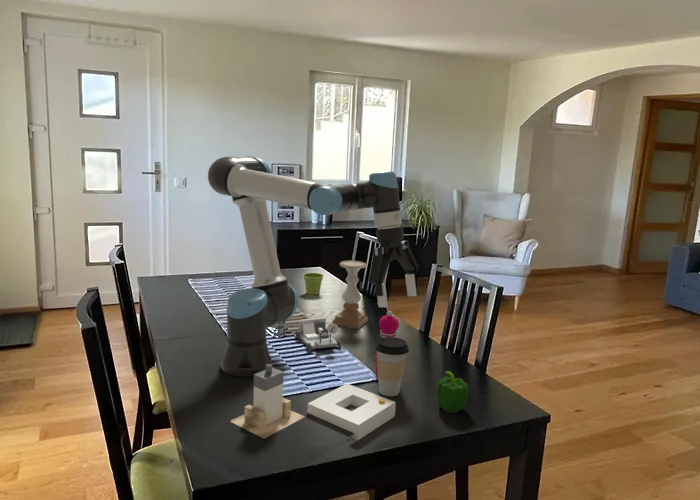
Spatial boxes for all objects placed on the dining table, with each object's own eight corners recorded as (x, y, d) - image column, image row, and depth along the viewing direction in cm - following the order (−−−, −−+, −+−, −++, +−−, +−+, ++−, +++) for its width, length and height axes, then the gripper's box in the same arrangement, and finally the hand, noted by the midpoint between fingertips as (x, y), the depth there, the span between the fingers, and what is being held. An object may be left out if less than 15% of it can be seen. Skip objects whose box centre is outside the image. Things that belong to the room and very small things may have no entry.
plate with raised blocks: (229, 426, 135) (229, 405, 134) (271, 406, 146) (271, 387, 145) (264, 444, 128) (264, 422, 127) (305, 422, 139) (305, 401, 138)
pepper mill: (400, 371, 173) (404, 309, 169) (394, 380, 166) (398, 316, 162) (377, 367, 175) (381, 306, 171) (371, 375, 168) (374, 312, 164)
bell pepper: (472, 414, 147) (475, 379, 145) (444, 417, 145) (447, 381, 143) (457, 400, 155) (460, 366, 153) (430, 403, 152) (433, 368, 151)
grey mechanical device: (345, 324, 185) (312, 327, 180) (344, 352, 187) (311, 356, 182) (326, 309, 201) (295, 311, 197) (325, 334, 203) (295, 338, 198)
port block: (307, 418, 141) (307, 401, 140) (346, 397, 154) (346, 381, 153) (357, 440, 132) (358, 422, 131) (394, 416, 144) (395, 399, 143)
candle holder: (331, 324, 213) (334, 264, 208) (342, 317, 223) (345, 259, 218) (358, 329, 209) (361, 267, 204) (368, 321, 219) (371, 262, 214)
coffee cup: (370, 384, 162) (373, 335, 159) (402, 384, 163) (406, 336, 160) (375, 399, 153) (378, 347, 150) (408, 399, 154) (412, 348, 151)
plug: (253, 420, 136) (253, 366, 133) (270, 411, 140) (272, 359, 138) (264, 426, 133) (265, 371, 130) (282, 417, 138) (283, 364, 135)
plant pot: (322, 296, 250) (323, 278, 249) (301, 295, 250) (302, 277, 249) (323, 291, 260) (324, 273, 258) (303, 290, 260) (304, 272, 258)
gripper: (370, 232, 144) (381, 312, 146) (425, 220, 162) (433, 292, 164) (349, 234, 149) (359, 311, 151) (404, 222, 167) (412, 291, 169)
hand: (398, 301), depth 157 cm, fingers open, 13 cm apart
